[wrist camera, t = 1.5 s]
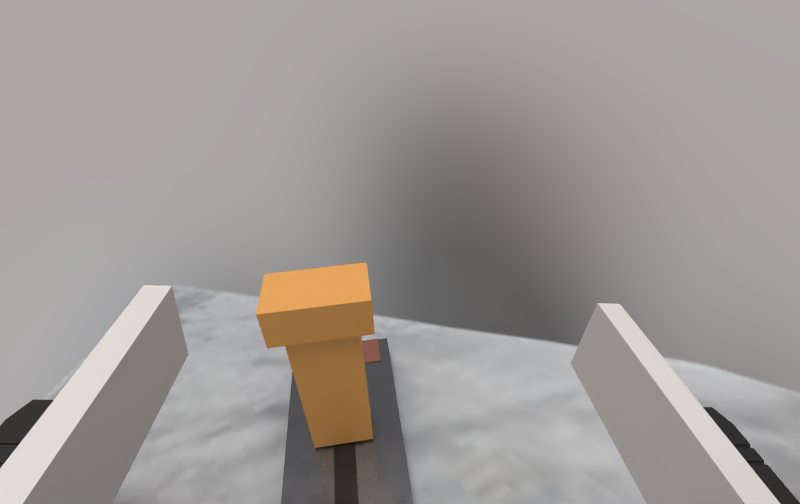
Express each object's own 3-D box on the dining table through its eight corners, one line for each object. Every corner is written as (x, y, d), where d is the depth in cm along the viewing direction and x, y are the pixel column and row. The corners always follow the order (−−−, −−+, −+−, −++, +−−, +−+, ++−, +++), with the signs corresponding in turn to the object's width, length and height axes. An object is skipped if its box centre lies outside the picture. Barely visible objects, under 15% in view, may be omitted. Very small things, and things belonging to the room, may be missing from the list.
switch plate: (298, 365, 45) (294, 350, 44) (388, 353, 46) (386, 337, 45) (282, 588, 29) (274, 575, 28) (420, 563, 30) (420, 549, 29)
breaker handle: (304, 413, 37) (264, 274, 28) (380, 401, 38) (366, 262, 29) (302, 455, 34) (256, 314, 25) (385, 442, 35) (371, 300, 25)
